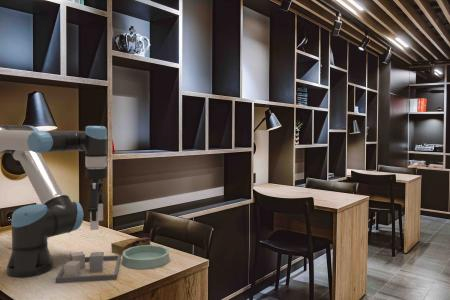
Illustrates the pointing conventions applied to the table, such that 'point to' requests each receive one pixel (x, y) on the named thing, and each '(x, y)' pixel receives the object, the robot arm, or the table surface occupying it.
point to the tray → (91, 277)
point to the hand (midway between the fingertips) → (96, 224)
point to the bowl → (145, 257)
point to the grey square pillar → (96, 261)
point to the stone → (128, 244)
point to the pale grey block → (78, 258)
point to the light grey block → (72, 269)
